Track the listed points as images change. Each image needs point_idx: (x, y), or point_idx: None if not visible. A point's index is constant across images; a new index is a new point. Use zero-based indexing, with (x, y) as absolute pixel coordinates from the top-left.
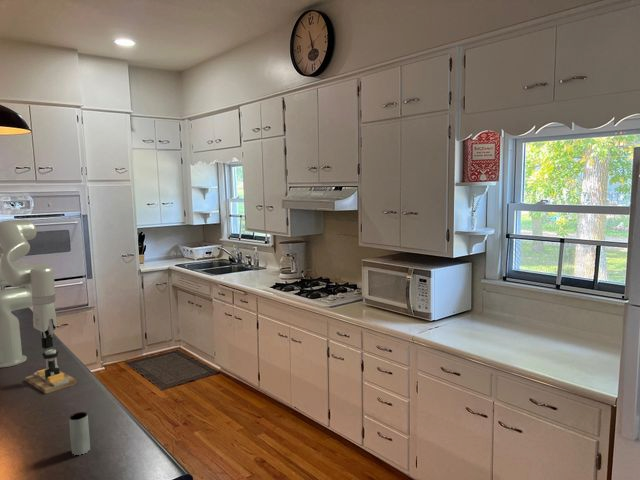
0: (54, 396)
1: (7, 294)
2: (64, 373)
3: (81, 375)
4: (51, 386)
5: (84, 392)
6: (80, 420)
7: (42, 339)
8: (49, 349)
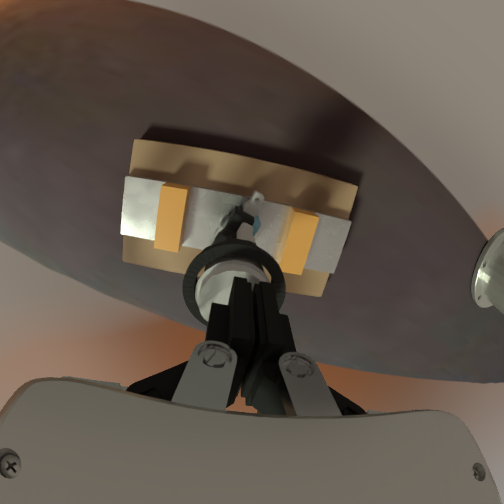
0: (90, 145)
1: None
2: None
3: None
4: (143, 171)
5: (45, 218)
6: None
7: (263, 332)
8: None
